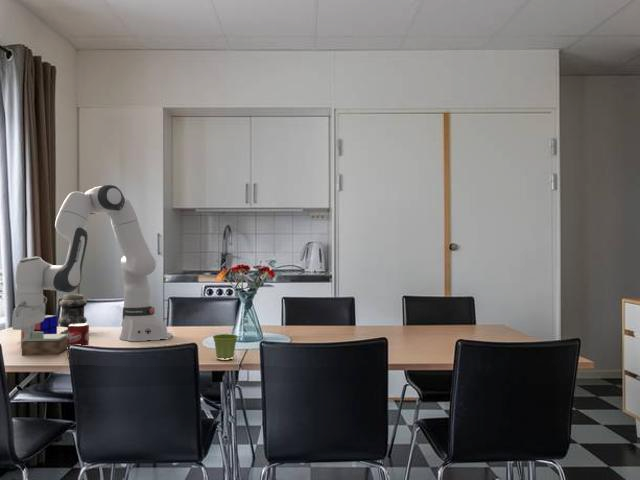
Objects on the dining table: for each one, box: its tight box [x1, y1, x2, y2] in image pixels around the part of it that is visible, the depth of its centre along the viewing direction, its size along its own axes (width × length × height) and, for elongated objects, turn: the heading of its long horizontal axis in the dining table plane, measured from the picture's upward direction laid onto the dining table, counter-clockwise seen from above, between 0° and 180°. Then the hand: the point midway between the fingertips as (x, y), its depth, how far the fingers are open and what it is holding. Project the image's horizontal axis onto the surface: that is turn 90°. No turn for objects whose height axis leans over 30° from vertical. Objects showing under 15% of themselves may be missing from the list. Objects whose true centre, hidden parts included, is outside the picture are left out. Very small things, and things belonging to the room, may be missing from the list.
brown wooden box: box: [21, 337, 67, 356], centre depth 195 cm, size 13×10×5 cm
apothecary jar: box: [57, 293, 88, 334], centre depth 237 cm, size 12×12×18 cm
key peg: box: [20, 330, 34, 350], centre depth 202 cm, size 4×4×10 cm
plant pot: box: [212, 333, 239, 359], centre depth 188 cm, size 9×9×9 cm
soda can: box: [66, 322, 90, 357], centre depth 189 cm, size 7×7×12 cm
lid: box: [23, 332, 68, 341], centre depth 195 cm, size 13×10×3 cm
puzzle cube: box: [34, 314, 58, 334], centre depth 221 cm, size 10×10×10 cm
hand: (28, 338), depth 186 cm, fingers closed
